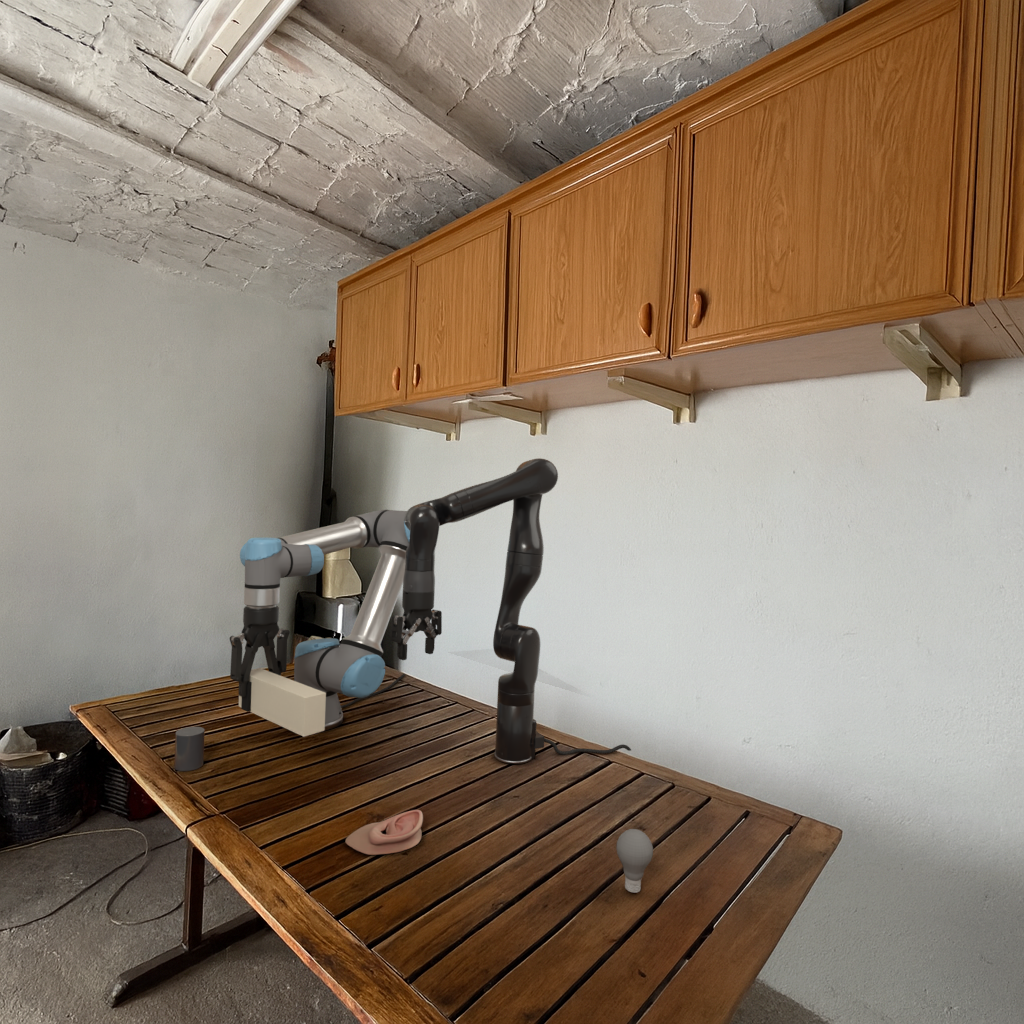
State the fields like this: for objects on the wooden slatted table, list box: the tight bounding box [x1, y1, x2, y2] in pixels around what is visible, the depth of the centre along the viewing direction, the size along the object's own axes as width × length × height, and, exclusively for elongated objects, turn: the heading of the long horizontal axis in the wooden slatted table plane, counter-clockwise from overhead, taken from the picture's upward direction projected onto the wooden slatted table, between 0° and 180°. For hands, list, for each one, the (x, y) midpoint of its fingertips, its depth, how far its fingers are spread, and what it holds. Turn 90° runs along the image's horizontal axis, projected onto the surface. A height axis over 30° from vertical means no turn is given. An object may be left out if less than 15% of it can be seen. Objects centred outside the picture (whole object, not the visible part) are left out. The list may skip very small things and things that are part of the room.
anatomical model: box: [344, 809, 424, 856], centre depth 118 cm, size 13×4×12 cm
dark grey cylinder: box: [173, 726, 206, 772], centre depth 146 cm, size 6×6×8 cm
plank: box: [238, 667, 326, 738], centre depth 139 cm, size 26×5×8 cm, turn 52°
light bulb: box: [615, 828, 654, 894], centre depth 106 cm, size 6×6×10 cm
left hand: (257, 706), depth 145 cm, fingers closed on plank, 5 cm apart
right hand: (415, 656), depth 151 cm, fingers open, 8 cm apart
